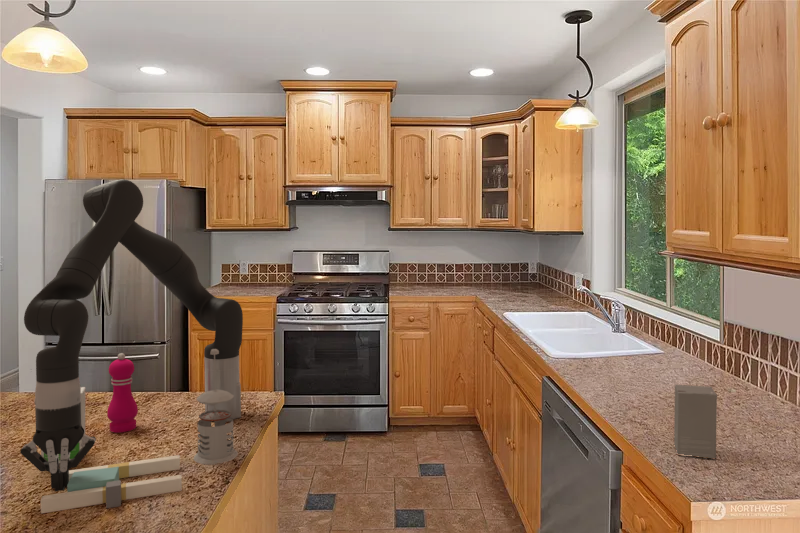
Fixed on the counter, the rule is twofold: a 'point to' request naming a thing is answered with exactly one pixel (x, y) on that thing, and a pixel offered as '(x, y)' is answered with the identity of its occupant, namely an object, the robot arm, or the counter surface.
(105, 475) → the block
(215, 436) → the french press
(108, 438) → the counter surface
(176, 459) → the track
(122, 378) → the pepper mill
